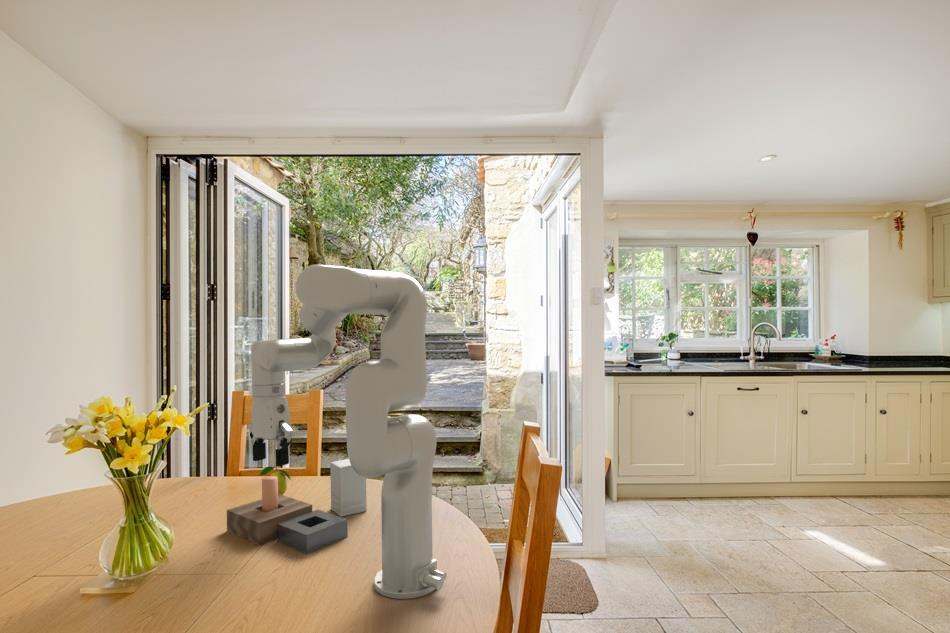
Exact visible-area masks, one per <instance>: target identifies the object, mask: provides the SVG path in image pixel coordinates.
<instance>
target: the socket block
mask: <svg viewBox="0 0 950 633" xmlns="http://www.w3.org/2000/svg"><path fill="white" fill-rule="evenodd" d="M312 511H313V504H311V503H308V502H306V501H305V502H304V501H301V500H298V499H296V498H292V497H289V496H286V495H284V494H283V495H280V494H278V509H276V510H273V511H270V512H263V511H262V498H261V499H258V500H256V501H251V502H249V503H245V504H242V505H241V504H240V505H239V506H235V507H231V508H229V509H226V531H227V532H228V533H230V534H233V535H236V536H238V537H240V538H242V539H244V540H247V541H249V542H251V543H253V544H256V545H258V546H261V545H264V544H267V543H269V542H271V541H274V540H277V524H278V523H281V522H284V521H287V520H289V519H292V518H295V517H298V516H301V515H304V514H307V513H309V512H312Z"/></svg>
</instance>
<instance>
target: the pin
mask: <svg viewBox="0 0 950 633" xmlns="http://www.w3.org/2000/svg"><path fill="white" fill-rule="evenodd" d="M261 499H262V511H263V512H270V511H273V510H276V509H278V477H276V476H270V475H269V476H265V477H263V478H261Z"/></svg>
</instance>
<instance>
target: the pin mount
mask: <svg viewBox="0 0 950 633" xmlns="http://www.w3.org/2000/svg"><path fill="white" fill-rule="evenodd" d="M348 529H349V528H348V518H345V517H343V516H339V515H335V514H332V513H329V512H327V511H324V510H320V509H315V510H312V512H309V513H307V514H304V515H301V516H298V517H295V518H292V519H289V520H287V521H284V522H281V523H278V524H277V539H276V540H277V542H278V543H280V544H282V545H285V546H287V547H289V548H292V549H294V550H297V551H299V552H301V553H304V554H307V555H308V554H310V553H312V552H315V551H317V550H319V549H322V548H325V547H326V546H329V545H331V544H333V543H336V542H339V541H340V540H343V539H345V538H348V536H349V534H348Z"/></svg>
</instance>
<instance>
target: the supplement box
mask: <svg viewBox="0 0 950 633" xmlns="http://www.w3.org/2000/svg"><path fill="white" fill-rule="evenodd" d="M329 469H330V510H332V511H333V512H334V513H335V514H337V516H339V517H345V516H351V515H355V514H359V513H363V512H367V510H368V509H367V506H368V505H367V478H366V477H362V476H360V475H359V474H357V473H356V472H355V471H354V469H353V468H352V466H351V464H350V461H349V458H348V459H347V458H346V459H341V460H336V461H331V462H330V468H329Z"/></svg>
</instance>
